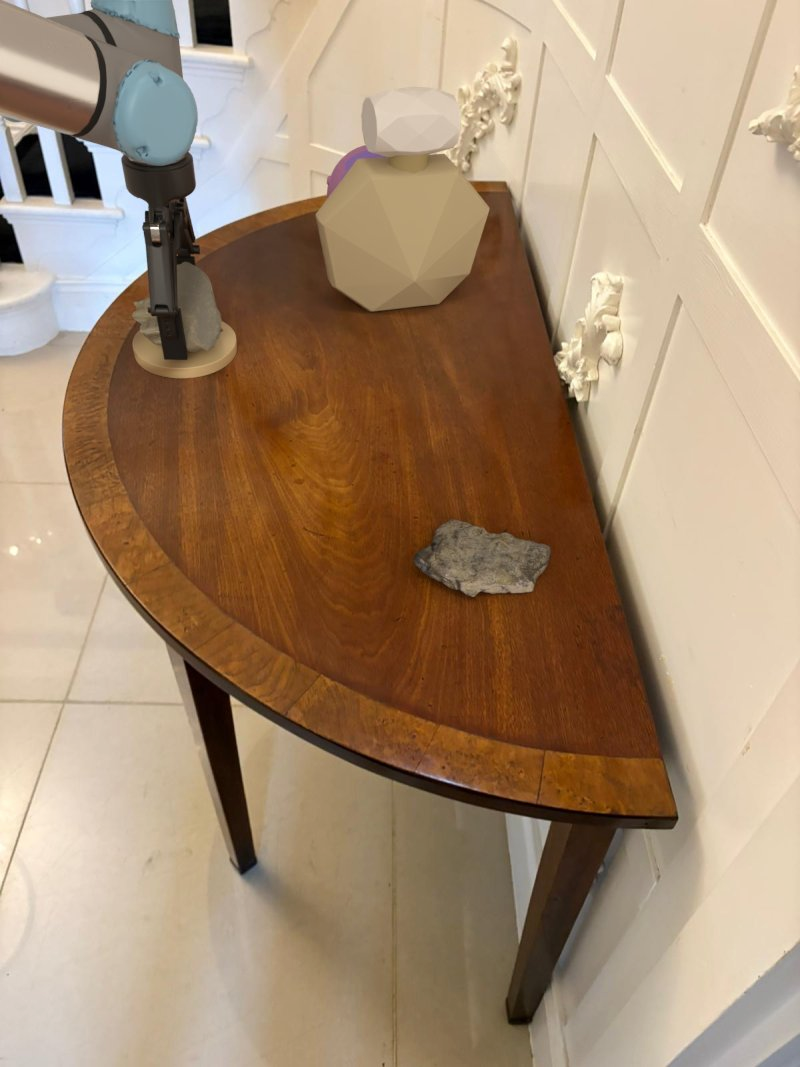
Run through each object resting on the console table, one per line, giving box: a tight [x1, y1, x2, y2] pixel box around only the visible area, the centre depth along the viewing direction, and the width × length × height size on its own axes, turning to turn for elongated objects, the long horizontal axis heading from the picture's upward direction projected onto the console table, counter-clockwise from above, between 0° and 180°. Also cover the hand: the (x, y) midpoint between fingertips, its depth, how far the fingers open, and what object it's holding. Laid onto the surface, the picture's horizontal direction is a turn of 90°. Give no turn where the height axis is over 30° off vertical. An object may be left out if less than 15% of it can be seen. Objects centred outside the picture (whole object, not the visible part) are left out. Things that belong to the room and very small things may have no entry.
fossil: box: [132, 262, 223, 352], centre depth 98 cm, size 14×10×10 cm
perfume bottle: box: [315, 86, 491, 313], centre depth 105 cm, size 12×24×28 cm, turn 108°
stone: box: [412, 518, 552, 598], centre depth 77 cm, size 14×8×3 cm, turn 76°
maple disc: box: [132, 321, 238, 379], centre depth 101 cm, size 13×13×2 cm
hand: (183, 330), depth 100 cm, fingers closed on fossil, 12 cm apart
